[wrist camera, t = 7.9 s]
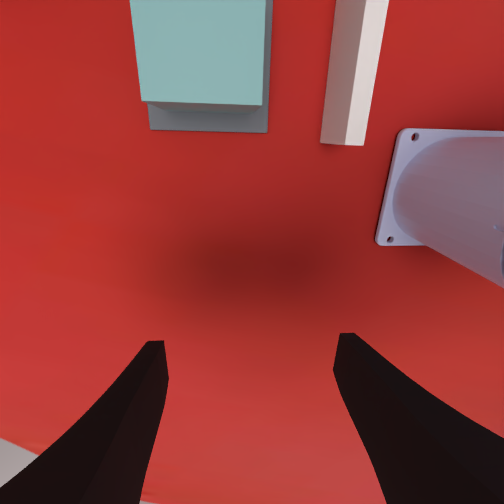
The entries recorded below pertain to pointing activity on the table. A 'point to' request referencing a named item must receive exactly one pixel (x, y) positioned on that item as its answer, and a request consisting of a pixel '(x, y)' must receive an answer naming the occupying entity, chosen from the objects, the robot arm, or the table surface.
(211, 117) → the mat
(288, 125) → the table surface
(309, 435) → the table surface
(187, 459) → the table surface
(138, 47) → the teal block
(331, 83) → the light grey piece
